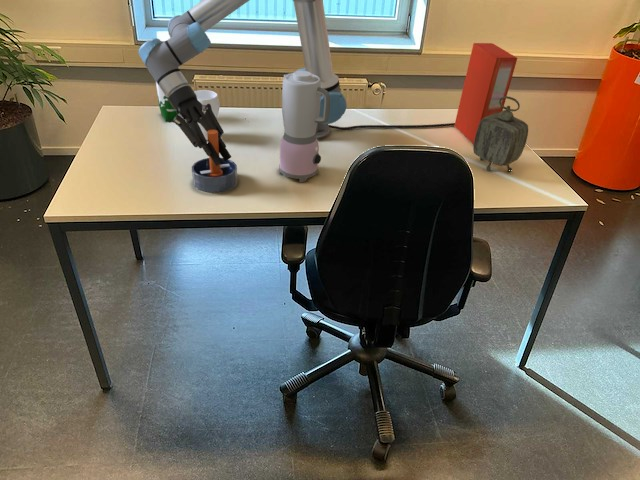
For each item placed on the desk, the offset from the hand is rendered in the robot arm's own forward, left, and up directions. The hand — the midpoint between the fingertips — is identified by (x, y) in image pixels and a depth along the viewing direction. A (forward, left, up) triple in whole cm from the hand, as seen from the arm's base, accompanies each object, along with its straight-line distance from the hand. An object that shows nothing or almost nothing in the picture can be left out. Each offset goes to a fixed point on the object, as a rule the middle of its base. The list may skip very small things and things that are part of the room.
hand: (223, 161), depth 152 cm
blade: (+3, -2, -6) cm, 7 cm away
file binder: (-80, -60, -9) cm, 101 cm away
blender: (-21, -14, -9) cm, 27 cm away
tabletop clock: (-83, -33, -9) cm, 90 cm away
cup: (+17, -34, -9) cm, 39 cm away
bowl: (+4, -2, -9) cm, 10 cm away
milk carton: (+34, -47, -9) cm, 58 cm away
